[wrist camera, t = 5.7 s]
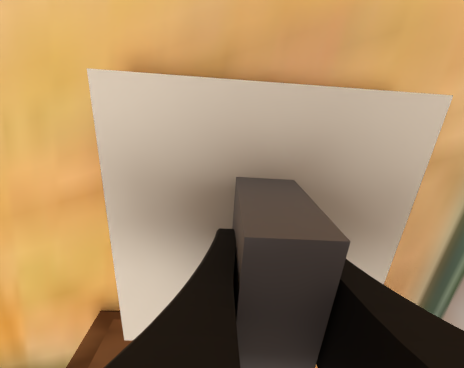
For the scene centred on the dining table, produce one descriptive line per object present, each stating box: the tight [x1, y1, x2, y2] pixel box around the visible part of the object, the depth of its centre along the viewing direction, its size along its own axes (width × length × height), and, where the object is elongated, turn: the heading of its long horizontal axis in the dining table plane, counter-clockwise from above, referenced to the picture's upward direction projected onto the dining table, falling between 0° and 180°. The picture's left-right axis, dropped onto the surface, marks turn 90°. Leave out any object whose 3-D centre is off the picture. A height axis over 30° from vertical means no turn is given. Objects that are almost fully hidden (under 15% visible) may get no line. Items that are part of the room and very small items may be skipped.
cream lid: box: [87, 69, 453, 368], centre depth 9 cm, size 13×13×6 cm
